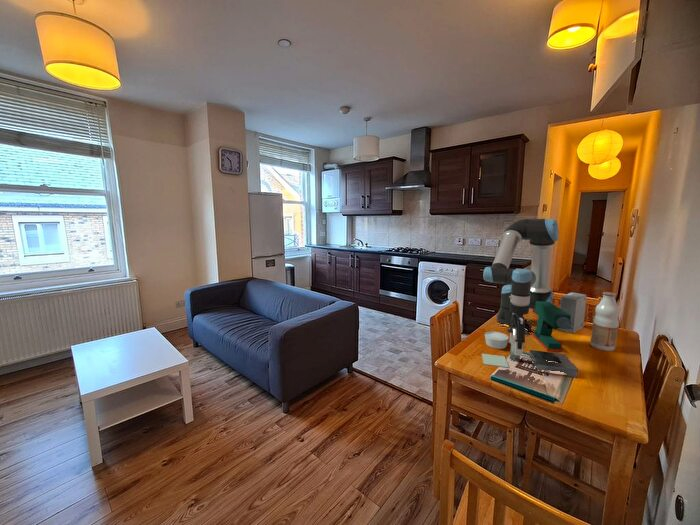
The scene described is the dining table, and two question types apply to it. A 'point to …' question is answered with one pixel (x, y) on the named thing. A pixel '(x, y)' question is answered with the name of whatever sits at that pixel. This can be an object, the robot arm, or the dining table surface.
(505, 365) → the rubber mat
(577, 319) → the hard drive box
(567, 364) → the plate
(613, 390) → the dining table surface
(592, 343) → the fruit juice
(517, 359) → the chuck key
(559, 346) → the power tool
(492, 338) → the ramekin
